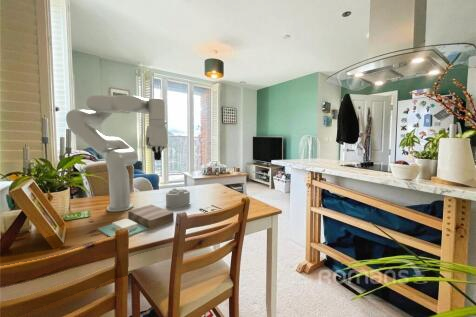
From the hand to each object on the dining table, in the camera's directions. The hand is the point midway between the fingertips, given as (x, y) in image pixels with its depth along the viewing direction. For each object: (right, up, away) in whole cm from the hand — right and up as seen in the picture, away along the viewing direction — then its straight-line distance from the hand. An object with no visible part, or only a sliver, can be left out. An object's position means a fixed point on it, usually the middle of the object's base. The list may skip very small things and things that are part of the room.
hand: (157, 159), depth 110 cm
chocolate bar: (+30, -28, +4) cm, 41 cm away
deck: (0, -28, -8) cm, 29 cm away
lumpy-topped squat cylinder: (+6, -26, +15) cm, 31 cm away
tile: (-7, -27, -18) cm, 33 cm away
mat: (-8, -29, -19) cm, 36 cm away
